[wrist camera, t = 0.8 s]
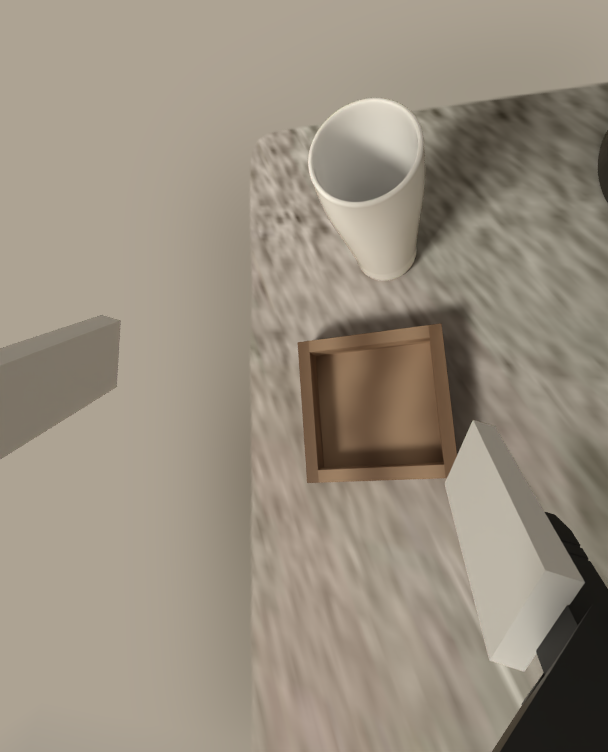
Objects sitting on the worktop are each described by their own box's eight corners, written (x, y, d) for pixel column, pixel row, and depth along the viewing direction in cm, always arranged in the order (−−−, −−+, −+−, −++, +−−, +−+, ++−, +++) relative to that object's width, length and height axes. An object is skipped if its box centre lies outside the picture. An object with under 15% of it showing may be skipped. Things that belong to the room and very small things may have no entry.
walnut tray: (440, 331, 35) (441, 323, 33) (456, 473, 34) (459, 477, 31) (307, 348, 39) (297, 342, 36) (316, 478, 37) (307, 482, 34)
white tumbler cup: (354, 220, 39) (313, 100, 24) (428, 219, 37) (431, 88, 23) (346, 289, 38) (299, 208, 24) (421, 292, 36) (418, 206, 22)
